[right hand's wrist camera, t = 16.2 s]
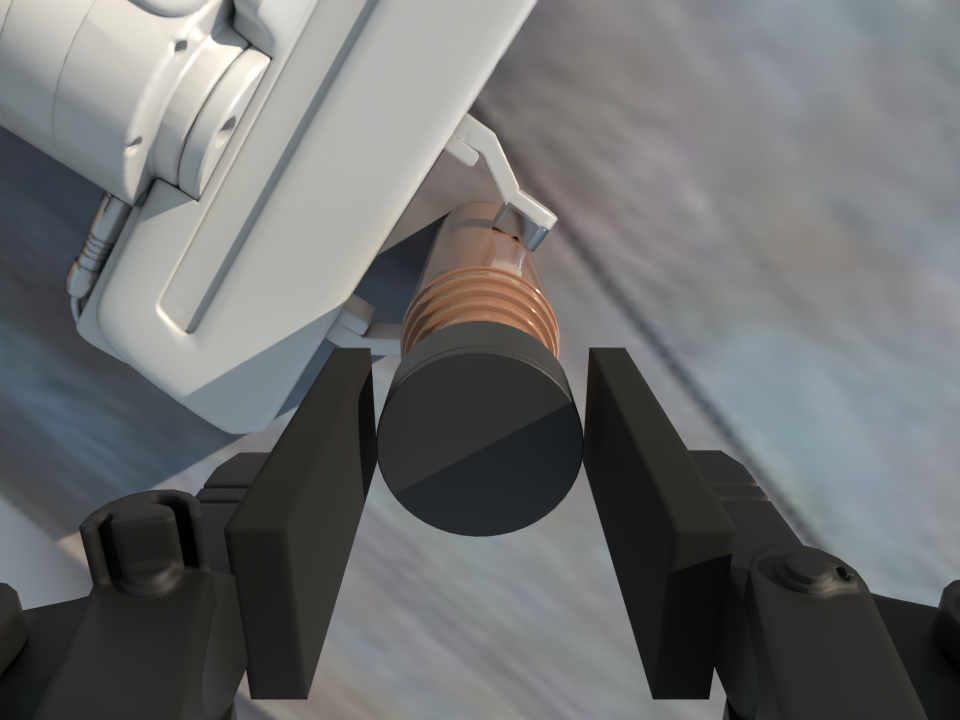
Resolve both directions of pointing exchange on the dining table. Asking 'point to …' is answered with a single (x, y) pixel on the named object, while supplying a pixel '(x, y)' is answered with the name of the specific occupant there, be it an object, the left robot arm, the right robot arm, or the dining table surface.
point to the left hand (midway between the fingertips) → (500, 296)
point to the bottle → (478, 281)
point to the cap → (479, 430)
